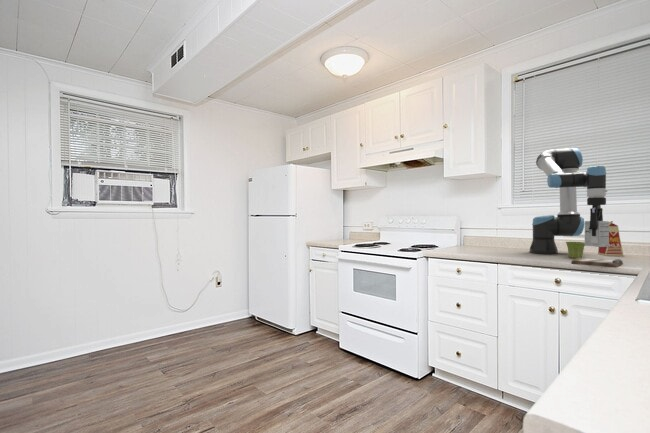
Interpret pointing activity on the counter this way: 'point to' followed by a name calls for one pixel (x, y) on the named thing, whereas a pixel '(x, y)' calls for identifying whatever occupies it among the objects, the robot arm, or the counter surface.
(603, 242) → the supplement box
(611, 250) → the milk carton
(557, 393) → the counter surface
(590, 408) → the counter surface
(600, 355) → the counter surface
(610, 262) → the brown square frame
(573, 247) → the plant pot
